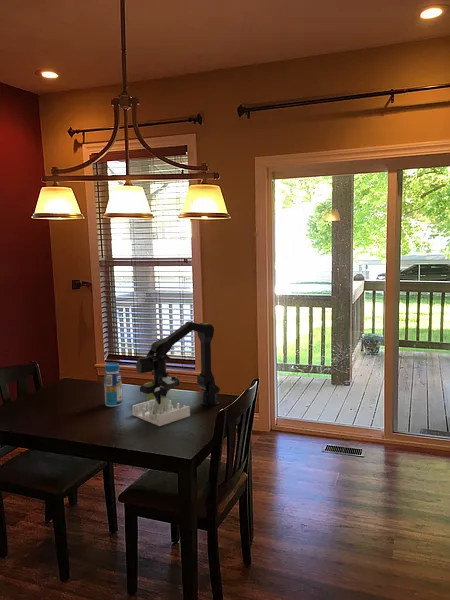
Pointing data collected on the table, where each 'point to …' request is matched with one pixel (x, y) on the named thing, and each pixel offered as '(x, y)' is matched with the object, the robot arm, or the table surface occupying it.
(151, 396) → the plant pot
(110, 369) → the beverage bottle
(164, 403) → the green square slab
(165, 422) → the dish rack
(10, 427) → the table surface
